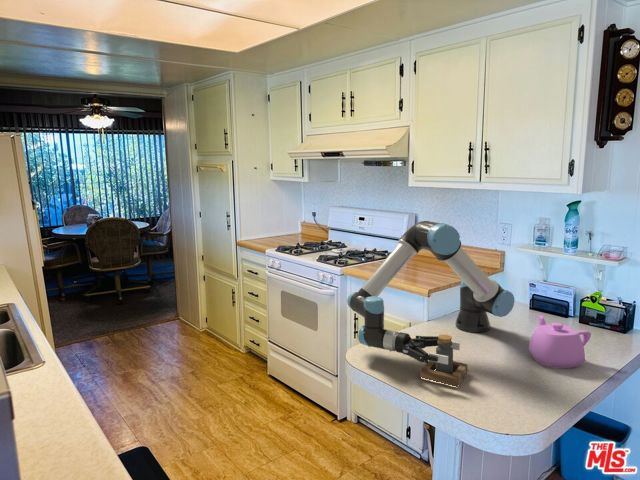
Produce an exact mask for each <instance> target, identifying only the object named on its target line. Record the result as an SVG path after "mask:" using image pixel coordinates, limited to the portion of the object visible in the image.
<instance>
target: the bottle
mask: <svg viewBox="0 0 640 480" xmlns="http://www.w3.org/2000/svg"><path fill="white" fill-rule="evenodd" d="M452 338H453V337H452V336H451V335H449V334H443V333H442V334H439V335H438V341H437V344H438V345H439V346H436V348H435V354H439V355H444V356H448V365H447V364H442V363H438V362H436V370H435V371H439V372H443V373H447V374H452V375H453V374H454V373H453V361H454V349H453V348H452V347H450V346H452V341H453V340H452Z"/></svg>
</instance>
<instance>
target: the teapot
mask: <svg viewBox="0 0 640 480" xmlns="http://www.w3.org/2000/svg"><path fill="white" fill-rule="evenodd" d="M537 319H538V324H539V325H537V326H536V328H535V329H534V331H533V333H532V334H531V337H530V338H529V339H530V340H529V344H528V351H529V353H530V356H532V358H533V359H534V360H535V362H537V363H539V364H540V365H542V366H544V367H548V368H553V369H554V368H558V369H569V368H577V367H581V366H582V364H583V363H584V362H585V359H586V354H585V353H586V352H585V345H587V343H588V342H589V341H590V339H591V336H592V332H590V331H589V330H586V329H585V330H582V329H581V330H575V329H573V328H571V326H568V325H564V324H563V323H560V322H552V323H551V324H547V323H546V319H545V318H544V316H543V315H542V314H537ZM580 335H583V336H582V338H581V336H580Z"/></svg>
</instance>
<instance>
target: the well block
mask: <svg viewBox="0 0 640 480" xmlns="http://www.w3.org/2000/svg"><path fill="white" fill-rule="evenodd" d="M468 366H469V365H468V363H463V362H459V361H454V360H453V372H454V373H453V375H452V374H447V373H443V372H439V371H436V370H435V369H436V362H433V361H429V360H428V363H425V364H424V366H423V367H422V368H421V369H420V373H419V374H420V375H419V376H420V377H422V378H425V379H429V380H433V381H436V382H441V383H444V384H448V385H452V386H456V387H457V386H458V385H459V384H460V382H461V381H462V379H463V378H464V376H465V375H466V374H467V375H468V373H467V372H469V371H468V370H469V369H468V368H469V367H468ZM434 370H435V371H434ZM467 375H466V376H467ZM466 376H465V377H466ZM420 377H419V378H420ZM464 379H465V378H464ZM464 379H463V380H464ZM462 382H463V381H462ZM462 382H461V383H462ZM460 385H461V384H460ZM460 385H459V386H460Z"/></svg>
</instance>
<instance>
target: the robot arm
mask: <svg viewBox="0 0 640 480" xmlns="http://www.w3.org/2000/svg"><path fill="white" fill-rule="evenodd" d="M460 238H461V235H460V234H459V231H458V230H457V229H456V228H455V227H454V226H453V225H450V224H447V223H444V222H441V223H440V222H435V221H429V220H421V221H419V222H417V223H415V224H413V225H412V226H411V227H409V228H408V229H407V230H406V231H405V232H404V234H402V236H401V237H400V238H399V239H398V244H397V245H396V246H395V247H394V249H393V250H392V251H391V252H390V253H389V255H387V257H386V258H385V259H384V260H383V262H382V263H381V264H380V265H379V266H378V268H377V269H375V271H374V272H373V273H372V275H371V276H370V277H369V278H368V279H367V281H365V283H364V284H363V286H362V287H360V288H359V290H358V291H354V292H352V293H350V294H349V295H348V297H347V299H346V301H347V306H348V307H349V309H351V310H352V311H353V312H355V313H357V314H358V315H360V316H362V317H363V318H364V325H362V326H360V327H359V330H358V334H357V339H358V343H360V344H361V345H364V346H368V347H369V348H371V347H372V348H377V349H381V350H385V351H386V350H387V351H389V352H397V353H400V354H402V355H405V356H408V357H410V358H413V359H414V360H416V361H418V362H420V363H422V364H424V363H425V364H427V363H428V362H429V361H433V362H438V363H442V364H447V365H448V356H444V355H439V354H436V352H435V353H434V352H427V351H425V350H424V349H426V348H429V347H438V346H439V345H438V344H437V341H438V336H439V335H438V336H433V335H432V336H431V335H430V336H429V335H428V336H427V335H415V338H413V337H411V336H410V334H409V333H407V332H401V331H400V332H399V331H397V330H391V329H385V304H384V299H383V298H382V297H380V294H381V293H382V292H383V291H384V290H385V289H386V288H387V287H388V285H389V284H390V283H391V282H392V280H393V279H394V278H395V277H396V275H397V274H398V273H400V271H401V270H402V268H403V267H404V266H405V265H406V264H407V262H409V260H411V258H412V257H413V256H416V255H418V253H419V252H420V251H421V250H427V251H429V252H430V253H431V254H432V255H433V256H434V257H435V258H436V259H437V261H440V262H444V263H445V264H447V265H448V266H449V268H451V270H452V271H453V272H454V273H455V274H456V275H457V276H458V277H459V278H460V279H461V281H460V286H459V291H460V292H459V311H458V314H457V316H456V319H455V327H456V328H457V329H459V330H461V331H462V332H463V331H464V332H468V333H469V332H470V333H485V332H488V331H489V330H491V329H490V328H491V322H490V319H489V317H488V314H491V315H493V316H495V317H499V318H503V317H506V316H507V315H509V314H511V312H512V310H513V308H514V306H515V295H514V294H513V292H512V291H509V290H507V289H504V288H503V287H502V286H501V285H500V284H499V283H498V281H496V280H495V279H490V278H489V277H488V276H487V274H486V273H485V272H484V271H482V269H481V268H480V267H479V266H478V265H477V263H475V261H474V260H473V259H472V258H471V257H470V255H469V254H467V252H466V251H465V250H464V249H463V248H462V241H461V240H460ZM451 341H452V346H450V347H452V348H453V351H455V350H456V351H460V346H461V345H460V344H461V343H460V342H457V341H453V340H451Z"/></svg>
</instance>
